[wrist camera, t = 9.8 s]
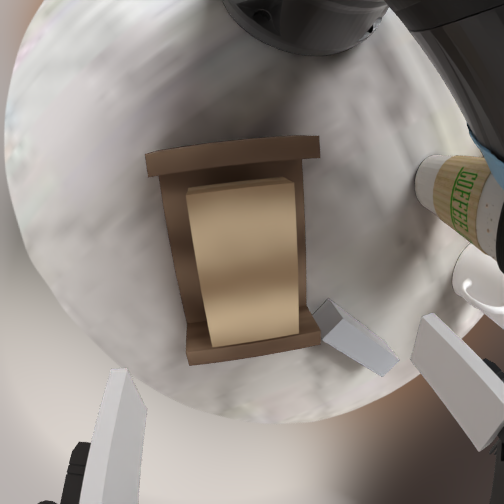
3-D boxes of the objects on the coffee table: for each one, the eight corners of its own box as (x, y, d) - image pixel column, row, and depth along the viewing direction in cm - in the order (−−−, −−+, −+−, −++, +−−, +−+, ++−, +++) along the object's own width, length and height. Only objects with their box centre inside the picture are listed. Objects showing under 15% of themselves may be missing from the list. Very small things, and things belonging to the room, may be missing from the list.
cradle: (157, 150, 24) (144, 154, 19) (296, 135, 25) (319, 135, 20) (190, 330, 31) (189, 365, 26) (303, 313, 32) (320, 344, 27)
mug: (428, 300, 35) (486, 352, 24) (445, 238, 32) (515, 280, 21) (479, 292, 37) (531, 332, 26) (494, 239, 34) (554, 273, 22)
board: (188, 187, 22) (185, 195, 19) (282, 176, 22) (294, 182, 20) (211, 326, 26) (212, 347, 23) (289, 313, 27) (298, 333, 24)
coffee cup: (386, 193, 28) (499, 252, 15) (429, 120, 26) (548, 140, 12) (434, 239, 32) (526, 301, 18) (472, 173, 29) (569, 212, 15)
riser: (309, 318, 32) (321, 340, 29) (328, 298, 32) (343, 318, 28) (369, 357, 36) (382, 377, 33) (385, 341, 36) (399, 360, 32)
